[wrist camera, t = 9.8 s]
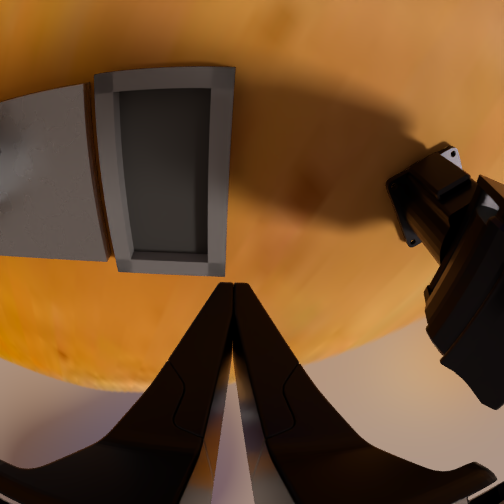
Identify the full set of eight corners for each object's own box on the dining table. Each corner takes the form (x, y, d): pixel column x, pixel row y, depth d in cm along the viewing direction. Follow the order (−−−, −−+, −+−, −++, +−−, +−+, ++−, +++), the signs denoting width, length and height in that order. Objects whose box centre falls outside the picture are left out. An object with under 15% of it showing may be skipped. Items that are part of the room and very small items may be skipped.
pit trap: (235, 67, 15) (235, 67, 14) (225, 263, 24) (225, 276, 22) (104, 72, 15) (93, 74, 14) (123, 259, 23) (118, 271, 22)
